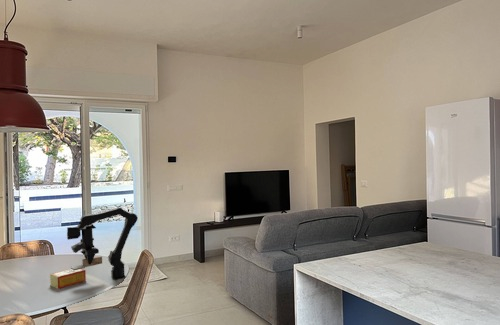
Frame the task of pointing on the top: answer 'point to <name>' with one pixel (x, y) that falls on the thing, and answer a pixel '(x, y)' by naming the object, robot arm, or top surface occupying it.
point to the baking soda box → (67, 278)
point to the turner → (95, 261)
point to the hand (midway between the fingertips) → (88, 263)
